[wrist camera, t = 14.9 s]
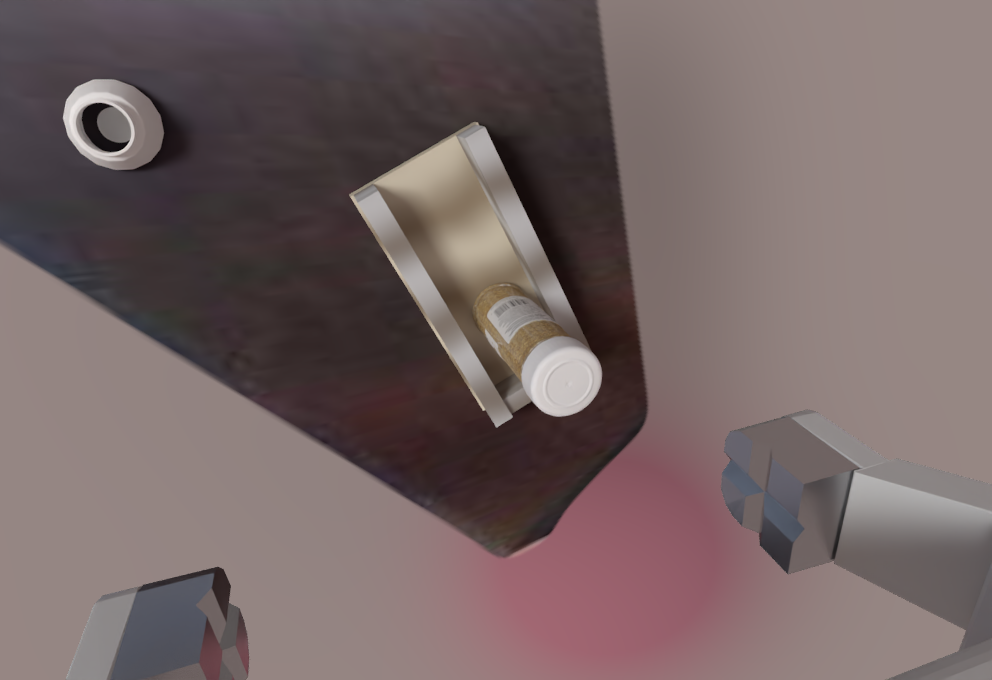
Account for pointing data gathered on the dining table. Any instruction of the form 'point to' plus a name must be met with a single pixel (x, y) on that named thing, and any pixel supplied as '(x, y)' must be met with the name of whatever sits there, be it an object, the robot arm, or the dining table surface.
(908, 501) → the robot arm
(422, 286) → the track
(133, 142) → the lidless jar
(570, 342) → the sprinkles bottle
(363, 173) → the dining table surface
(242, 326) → the dining table surface
